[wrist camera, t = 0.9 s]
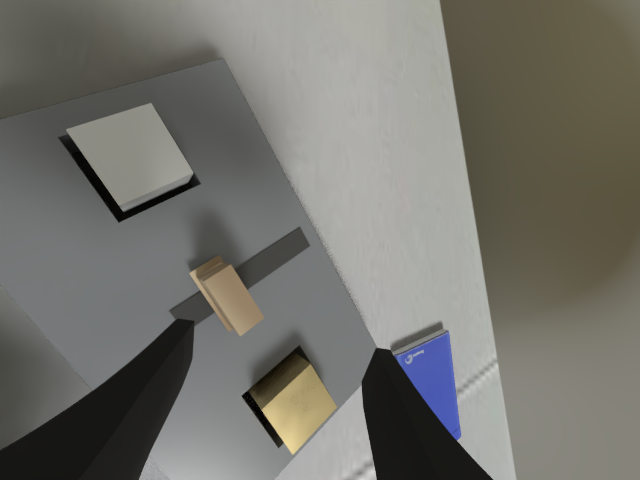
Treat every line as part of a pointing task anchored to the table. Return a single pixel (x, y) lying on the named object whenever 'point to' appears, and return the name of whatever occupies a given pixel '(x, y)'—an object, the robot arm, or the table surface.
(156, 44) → the table surface
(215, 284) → the tan wooden block
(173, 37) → the table surface
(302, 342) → the panel
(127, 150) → the grey button
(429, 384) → the hard drive
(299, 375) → the brass button
